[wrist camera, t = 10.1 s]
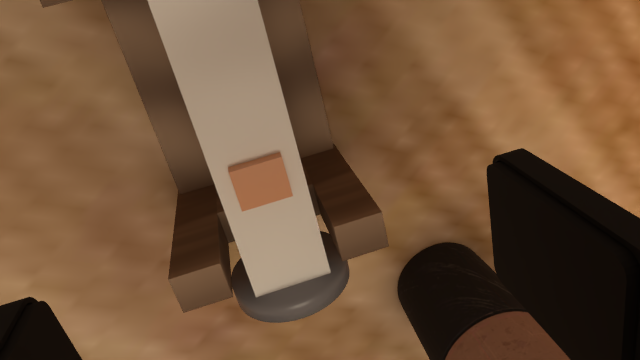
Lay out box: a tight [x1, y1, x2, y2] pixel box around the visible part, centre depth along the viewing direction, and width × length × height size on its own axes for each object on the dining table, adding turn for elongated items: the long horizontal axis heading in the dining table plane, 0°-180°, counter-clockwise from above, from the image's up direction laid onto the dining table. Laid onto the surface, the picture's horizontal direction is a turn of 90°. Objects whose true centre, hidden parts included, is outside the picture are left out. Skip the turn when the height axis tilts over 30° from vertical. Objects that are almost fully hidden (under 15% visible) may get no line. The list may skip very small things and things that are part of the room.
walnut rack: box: [40, 0, 389, 313], centre depth 24 cm, size 18×10×10 cm, turn 13°
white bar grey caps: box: [147, 0, 349, 323], centre depth 23 cm, size 21×6×6 cm, turn 13°
